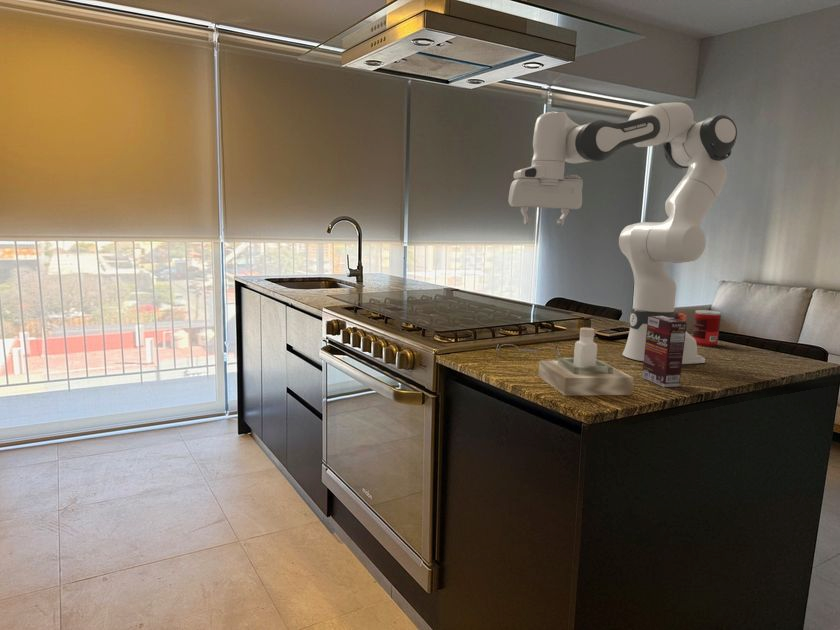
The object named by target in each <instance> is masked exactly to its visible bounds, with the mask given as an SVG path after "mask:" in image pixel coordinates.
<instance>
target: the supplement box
mask: <svg viewBox="0 0 840 630" xmlns="http://www.w3.org/2000/svg"><path fill="white" fill-rule="evenodd" d="M686 332H687V321H686V320H685V321H682V320H677V319H673V318H669V317H665V316H648V322H647V332H646V343H645V353H644V361H643V365H642V373H641V375H642V376H641V378H642V379H643V380H646V381H649V382H651V383H653V384H656V385H658V386H661V388H675V387H681V386H680V384H681V376H682V366H683V364H682V359H683V351H684V342H685V333H686Z"/></svg>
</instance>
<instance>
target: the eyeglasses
mask: <svg viewBox="0 0 840 630" xmlns="http://www.w3.org/2000/svg"><path fill="white" fill-rule="evenodd" d="M504 346H511V344H509V343H508V344H507V343H506V344H505V343H504V344H502V345H500V346H499V345H497V347H496V349H495V352H497V353H498V356H500V355H501V354H500V349H501V347H504ZM512 346H514V347H515V348H516V349H517V351H518V352H517V355H516V356H514V358H516V357H518V356H519V354H520V352H528V353H536V357H537V358H538V359H539V360H541V358H540V357H539V355H538V352H539V350H540V349H545V348H547V349H552V350H554V351H555V352H556V358H555V359H554V361H557V360H558V358H559V357H561V354H560V350H559V347H558V344H555V348H557V349H555V348H553V347H551V346H550V347H547V346H543V347H540V348H538V349H537V350H533V349H519V348H518V346H517V345H514V344H512ZM498 347H499V348H498ZM558 356H559V357H558Z"/></svg>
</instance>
